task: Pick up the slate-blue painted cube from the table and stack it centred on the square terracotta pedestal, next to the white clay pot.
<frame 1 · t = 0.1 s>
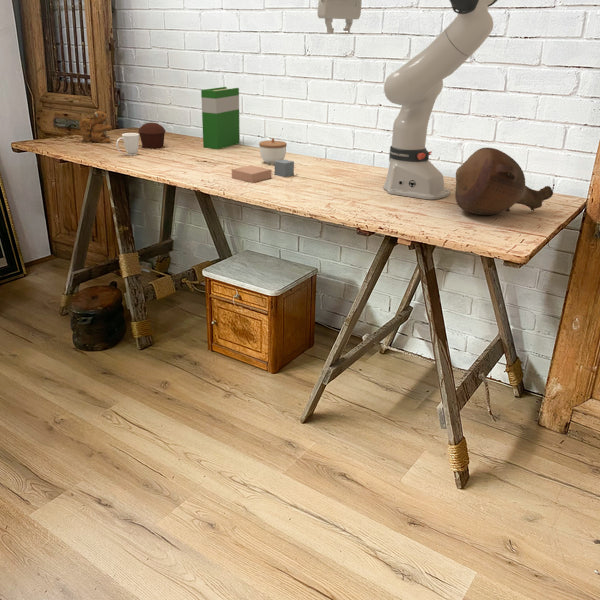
hand: (338, 34, 210), 48 cm above the table, fingers open, 8 cm apart
pedestal: (251, 177, 222), on the table
muffin: (153, 147, 270), on the table
brown bulbous piece: (497, 214, 188), on the table
hardback book: (221, 145, 277), on the table
lidded jar: (272, 163, 247), on the table
stuffed squirrel: (96, 142, 279), on the table
cup: (128, 155, 254), on the table
cube: (284, 175, 228), on the table
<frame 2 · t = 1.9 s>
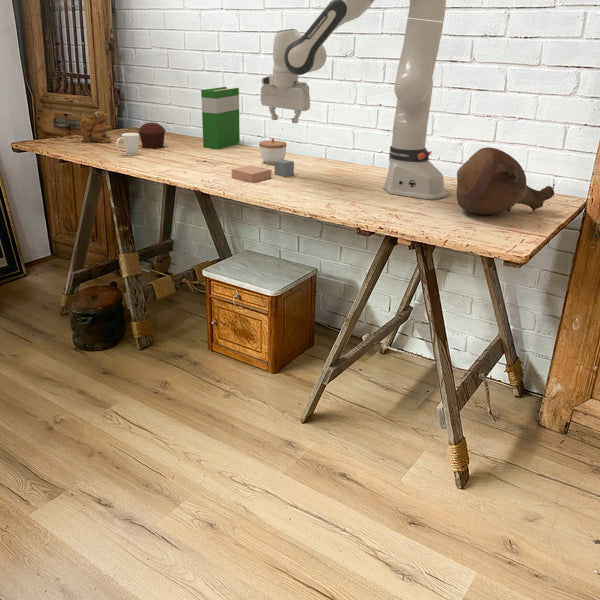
hand: (284, 121, 220), 19 cm above the table, fingers open, 8 cm apart
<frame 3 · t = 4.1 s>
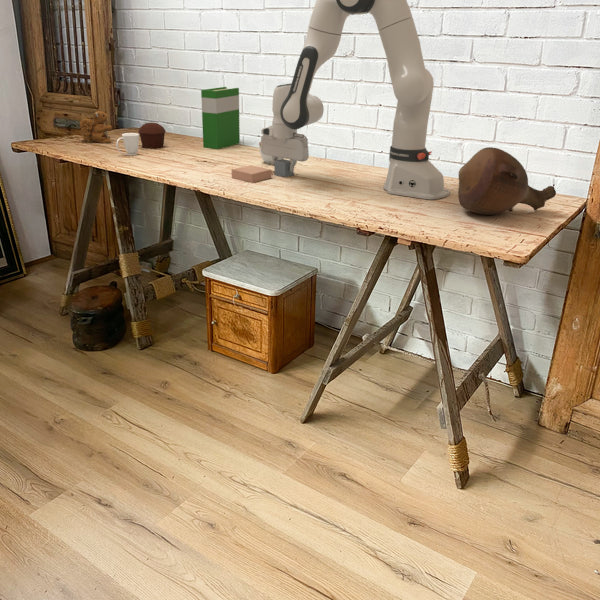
hand: (284, 170, 227), 2 cm above the table, fingers closed on cube, 5 cm apart
cube: (284, 174, 228), on the table, touching gripper
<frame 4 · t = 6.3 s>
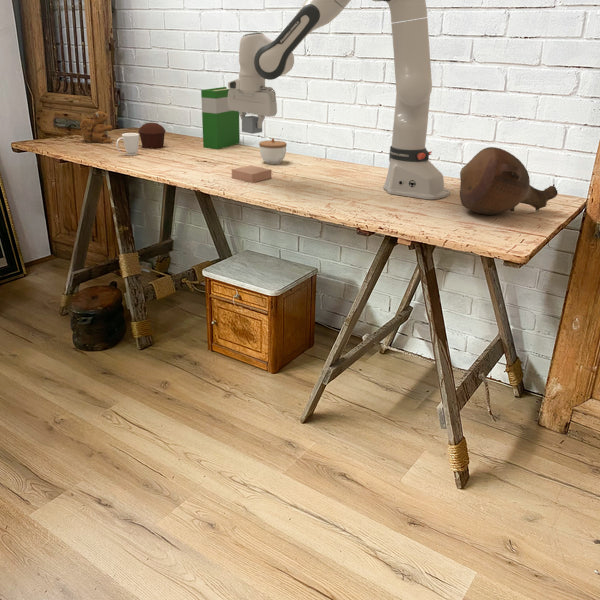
hand: (251, 126, 215), 18 cm above the table, fingers closed on cube, 5 cm apart
cube: (251, 131, 216), point 16 cm above the table, touching gripper
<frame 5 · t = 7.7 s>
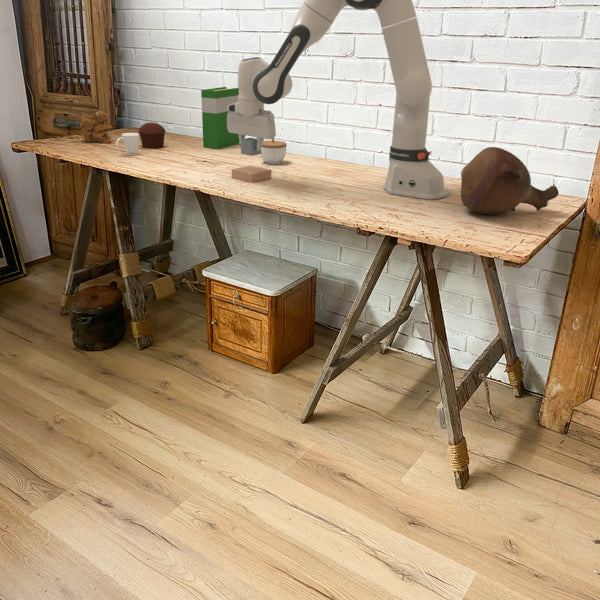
hand: (251, 148, 218), 10 cm above the table, fingers closed on cube, 5 cm apart
cube: (251, 153, 218), point 9 cm above the table, touching gripper
when the fingers open (6 cm above the table, at t = 8.8 s): cube drops 2 cm, resting on pedestal.
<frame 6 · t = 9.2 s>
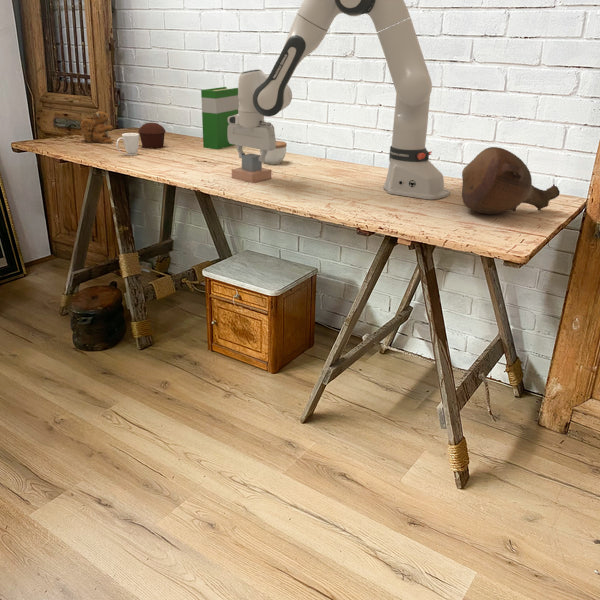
hand: (251, 160, 219), 6 cm above the table, fingers open, 8 cm apart
cube: (251, 169, 221), point 3 cm above the table, touching pedestal
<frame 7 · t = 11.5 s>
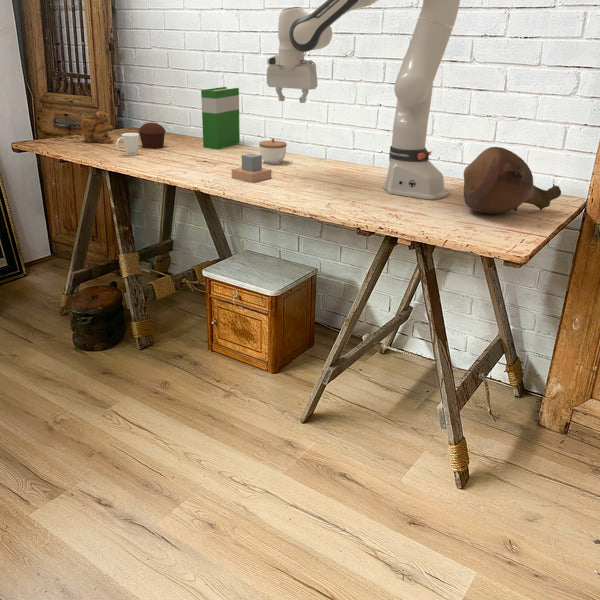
hand: (292, 101, 218), 26 cm above the table, fingers open, 8 cm apart
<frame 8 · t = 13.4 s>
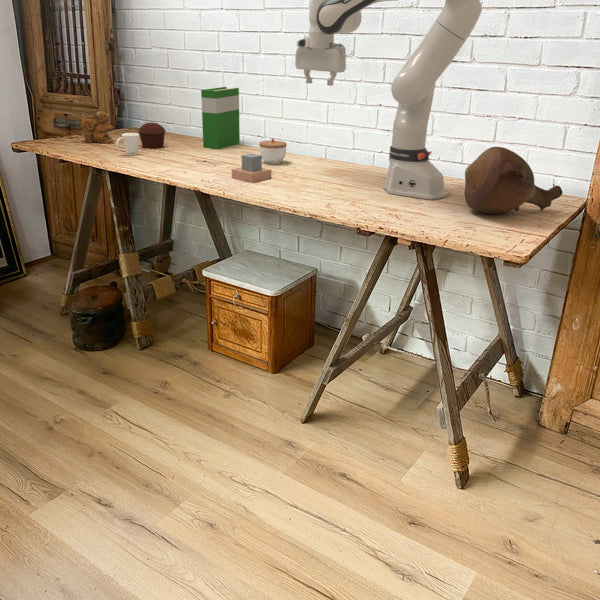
hand: (319, 84, 221), 31 cm above the table, fingers open, 8 cm apart
at the end: cube inside the target area on the pedestal (0.1 cm from its centre), point 3.0 cm above the pedestal's base; cube tilted 0°; the gripper is holding nothing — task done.
